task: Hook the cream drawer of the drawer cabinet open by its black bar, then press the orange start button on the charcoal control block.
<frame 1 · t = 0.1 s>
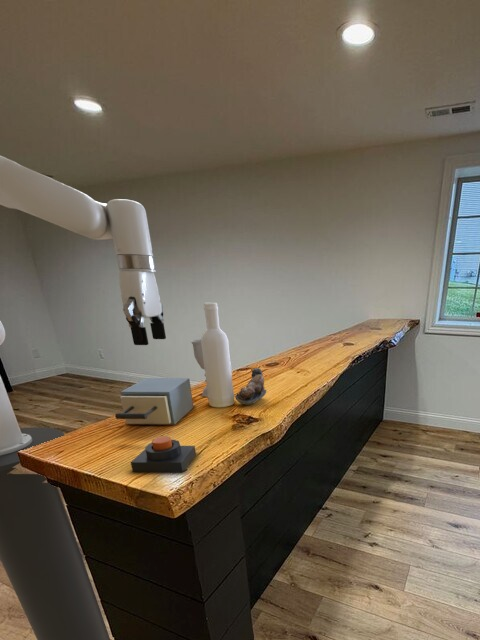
hand: (151, 341, 86), 22 cm above the table, tool pointing down, fingers open, 9 cm apart
control block: (166, 462, 73), on the table
cream drawer: (150, 406, 93), point 5 cm above the table, slide at 0.5 cm
brown figurine on dish: (251, 402, 112), on the table
drawer cabinet: (162, 415, 100), on the table
chalice: (209, 394, 119), on the table
start button: (162, 443, 71), point 4 cm above the table, slide at 0.1 cm
bottle: (222, 404, 110), on the table
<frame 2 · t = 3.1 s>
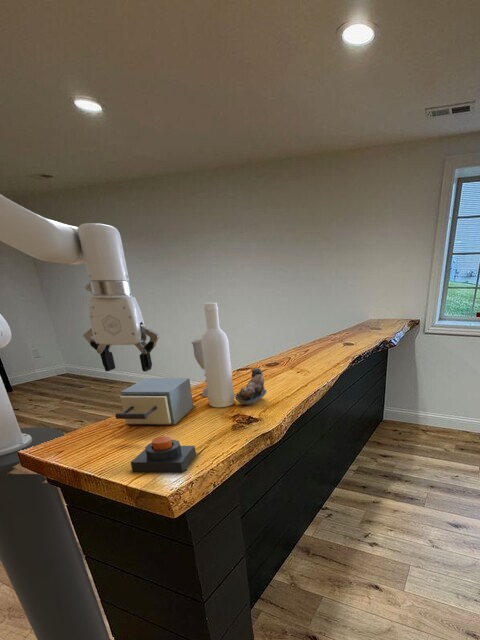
hand: (128, 369, 82), 16 cm above the table, tool pointing down, fingers open, 8 cm apart
nothing on the table moved.
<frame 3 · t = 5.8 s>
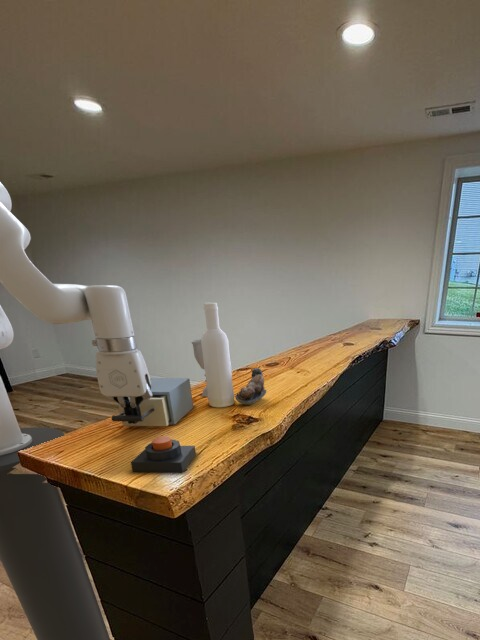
hand: (134, 421, 85), 4 cm above the table, tool pointing down, fingers closed
cream drawer: (147, 408, 91), point 5 cm above the table, slide at 2.1 cm
everything else where it was.
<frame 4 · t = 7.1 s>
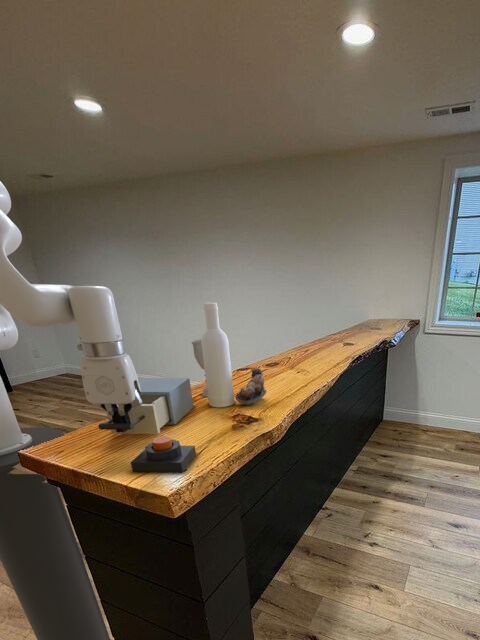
hand: (123, 429, 80), 4 cm above the table, tool pointing down, fingers closed
cream drawer: (138, 415, 86), point 5 cm above the table, slide at 7.2 cm
everything else where it was.
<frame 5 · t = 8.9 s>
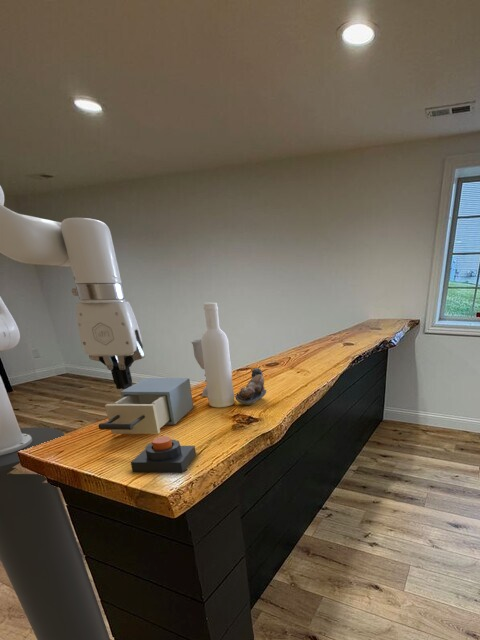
hand: (124, 387, 73), 15 cm above the table, tool pointing down, fingers closed
nothing on the table moved.
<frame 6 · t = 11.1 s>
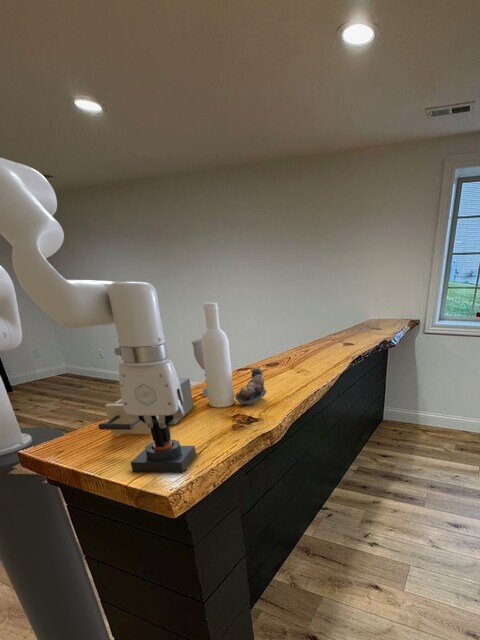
hand: (162, 443, 71), 4 cm above the table, tool pointing down, fingers closed
start button: (163, 447, 72), point 4 cm above the table, slide at -0.9 cm, touching gripper
everything else where it was.
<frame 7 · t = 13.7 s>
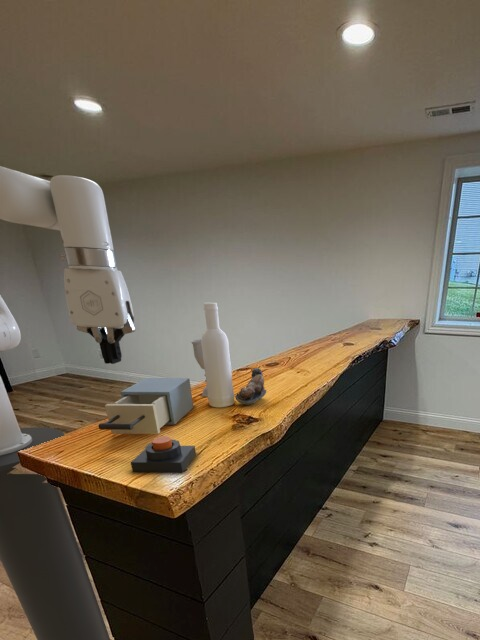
hand: (113, 362, 70), 20 cm above the table, tool pointing down, fingers closed
start button: (162, 443, 71), point 4 cm above the table, slide at 0.1 cm
everything else where it was.
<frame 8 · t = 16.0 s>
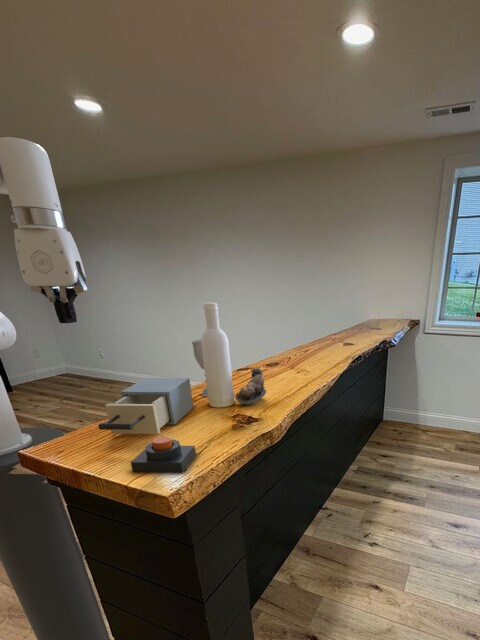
hand: (68, 322, 73), 27 cm above the table, tool pointing down, fingers closed
nothing on the table moved.
at the end: cream drawer slide at 7.2 cm; start button pushed in 1.1 cm at the most during the clip, back to where it started at the end; start button slide at 0.1 cm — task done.
